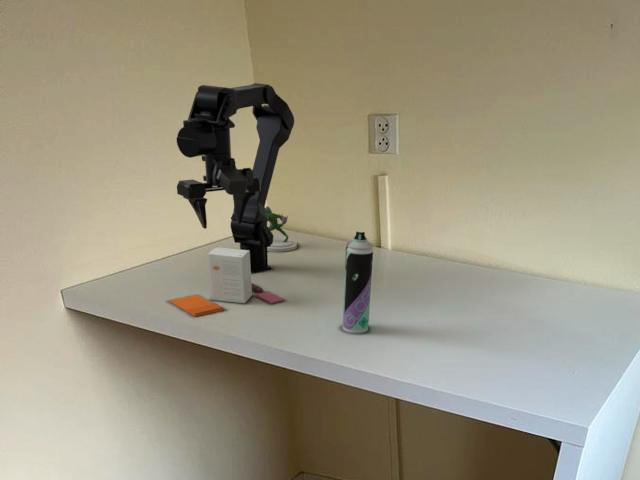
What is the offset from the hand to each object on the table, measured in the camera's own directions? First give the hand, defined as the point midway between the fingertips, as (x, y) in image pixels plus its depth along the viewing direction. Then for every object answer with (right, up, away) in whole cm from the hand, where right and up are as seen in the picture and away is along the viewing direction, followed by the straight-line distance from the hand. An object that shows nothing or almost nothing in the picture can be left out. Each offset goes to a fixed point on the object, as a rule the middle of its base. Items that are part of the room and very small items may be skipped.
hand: (222, 225), depth 157 cm
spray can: (+31, -27, -13) cm, 43 cm away
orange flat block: (-4, -21, -8) cm, 22 cm away
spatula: (+8, -15, +2) cm, 17 cm away
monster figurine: (+8, +8, +35) cm, 37 cm away
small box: (+3, -18, -2) cm, 18 cm away
